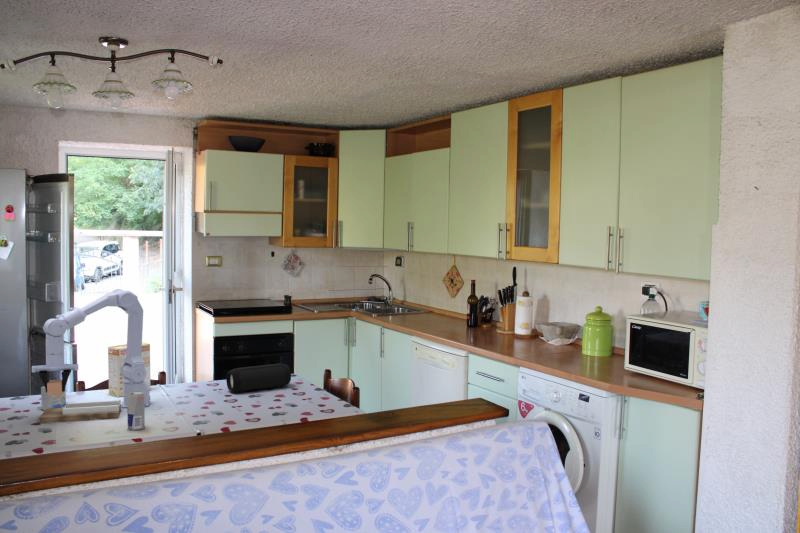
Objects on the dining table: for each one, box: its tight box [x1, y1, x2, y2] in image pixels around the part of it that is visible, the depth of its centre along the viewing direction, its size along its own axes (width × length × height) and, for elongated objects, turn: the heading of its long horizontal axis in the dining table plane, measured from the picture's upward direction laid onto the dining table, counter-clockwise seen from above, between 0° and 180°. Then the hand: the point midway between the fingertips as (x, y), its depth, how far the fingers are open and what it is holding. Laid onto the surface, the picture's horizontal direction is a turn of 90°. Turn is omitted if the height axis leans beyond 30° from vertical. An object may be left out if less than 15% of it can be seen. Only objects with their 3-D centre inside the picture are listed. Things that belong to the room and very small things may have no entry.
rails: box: [62, 399, 121, 415], centre depth 246 cm, size 18×8×2 cm, turn 107°
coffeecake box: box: [107, 341, 151, 398], centre depth 280 cm, size 15×7×20 cm, turn 144°
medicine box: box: [40, 386, 67, 411], centre depth 255 cm, size 8×4×9 cm, turn 168°
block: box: [47, 379, 64, 396], centre depth 242 cm, size 4×4×4 cm
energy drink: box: [126, 391, 146, 431], centre depth 231 cm, size 5×5×12 cm
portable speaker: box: [225, 363, 292, 394], centre depth 288 cm, size 26×10×10 cm, turn 124°
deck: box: [38, 403, 122, 424], centre depth 245 cm, size 25×12×2 cm, turn 107°
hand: (55, 391), depth 242 cm, fingers closed on block, 4 cm apart
